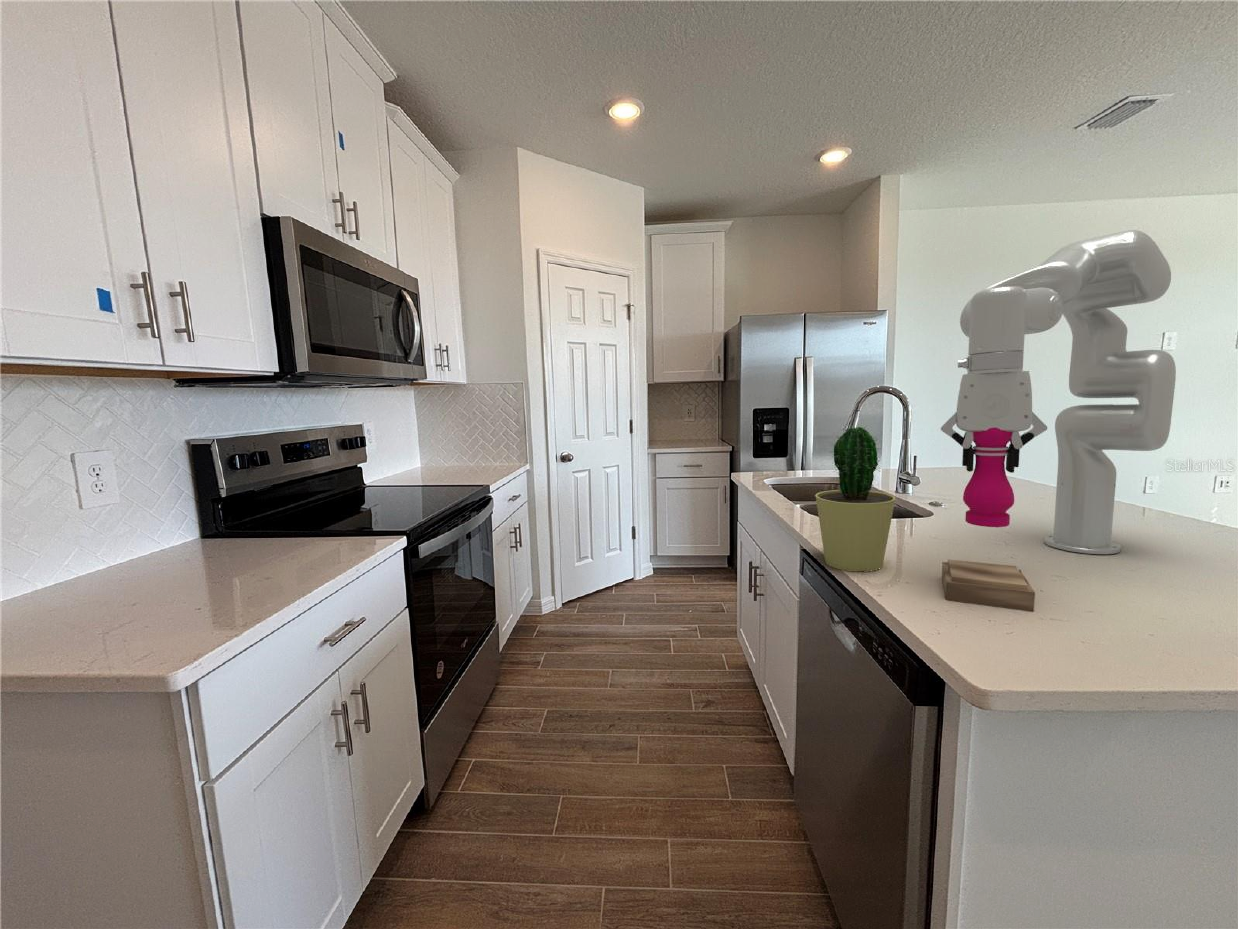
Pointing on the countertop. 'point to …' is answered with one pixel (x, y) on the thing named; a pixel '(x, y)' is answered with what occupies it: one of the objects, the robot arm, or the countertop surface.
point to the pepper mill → (989, 481)
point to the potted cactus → (855, 507)
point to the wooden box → (987, 585)
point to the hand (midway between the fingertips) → (989, 469)
